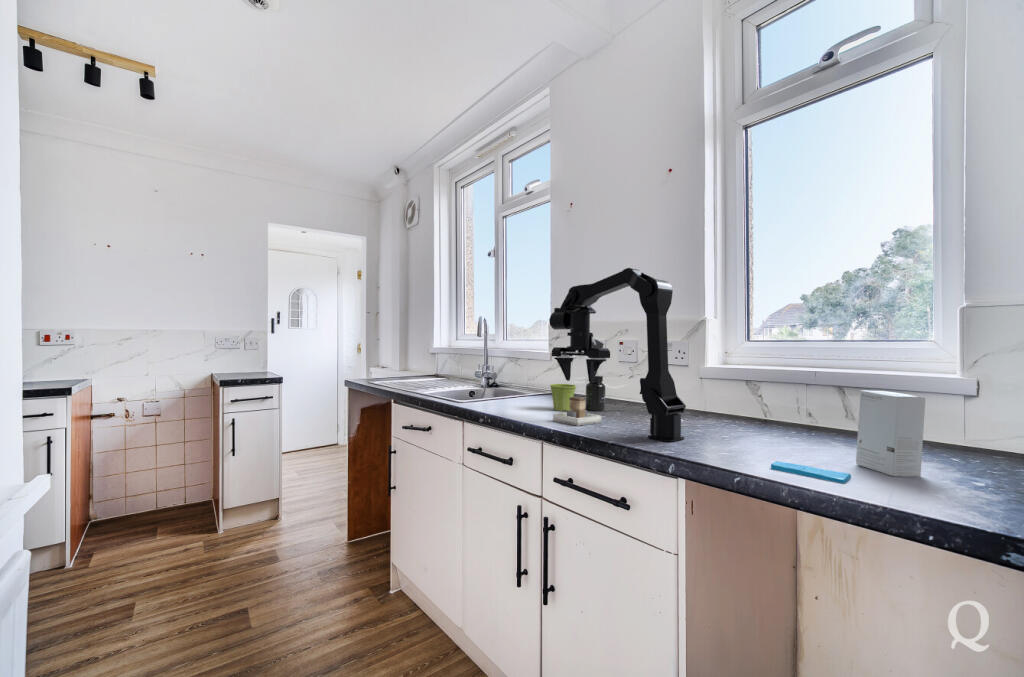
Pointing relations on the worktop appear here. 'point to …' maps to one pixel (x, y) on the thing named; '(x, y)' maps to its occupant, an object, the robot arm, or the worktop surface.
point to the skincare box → (890, 432)
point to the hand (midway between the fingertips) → (579, 381)
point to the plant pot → (562, 396)
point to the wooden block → (577, 406)
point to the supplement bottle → (595, 395)
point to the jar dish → (571, 418)
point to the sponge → (811, 472)
